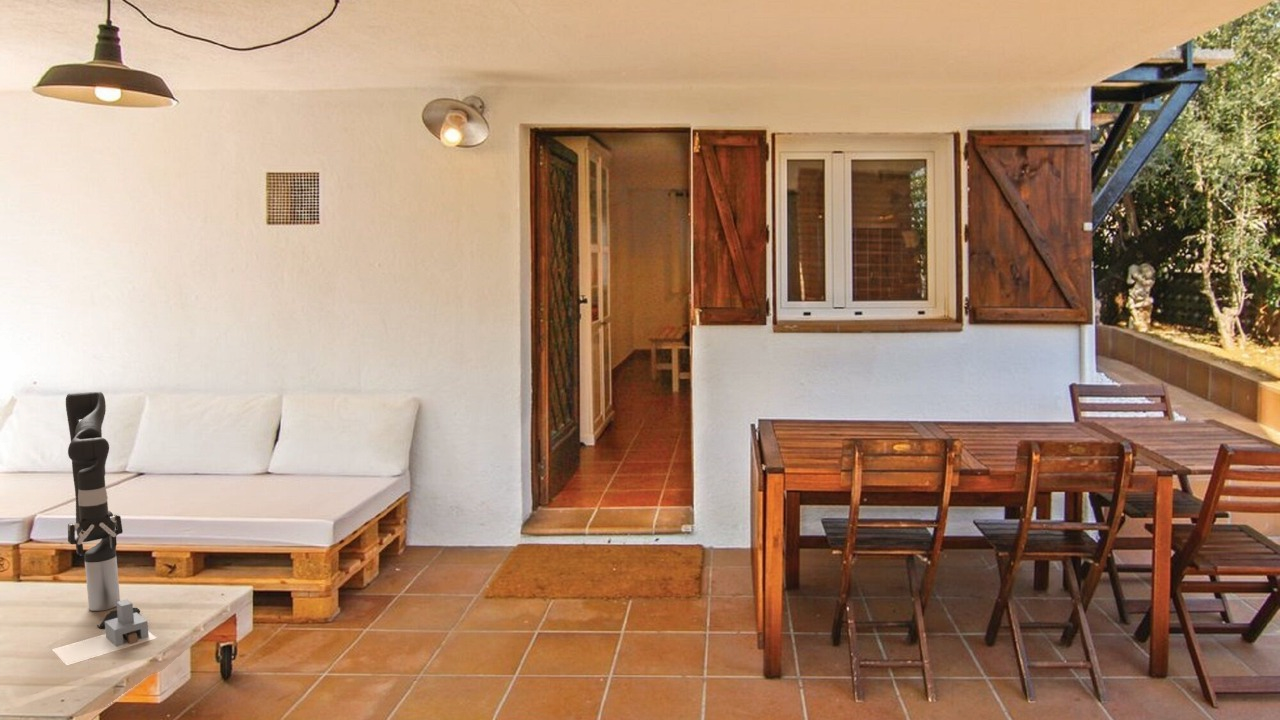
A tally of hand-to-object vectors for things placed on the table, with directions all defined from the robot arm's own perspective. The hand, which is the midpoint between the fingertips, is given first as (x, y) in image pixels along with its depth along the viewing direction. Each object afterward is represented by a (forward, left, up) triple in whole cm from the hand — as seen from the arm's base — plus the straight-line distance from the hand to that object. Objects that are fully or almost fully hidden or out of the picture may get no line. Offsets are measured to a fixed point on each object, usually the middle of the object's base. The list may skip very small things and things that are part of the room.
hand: (97, 551), depth 262 cm
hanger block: (+9, +4, -27) cm, 28 cm away
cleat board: (+9, -2, -28) cm, 30 cm away
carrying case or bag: (-8, +6, -29) cm, 30 cm away
